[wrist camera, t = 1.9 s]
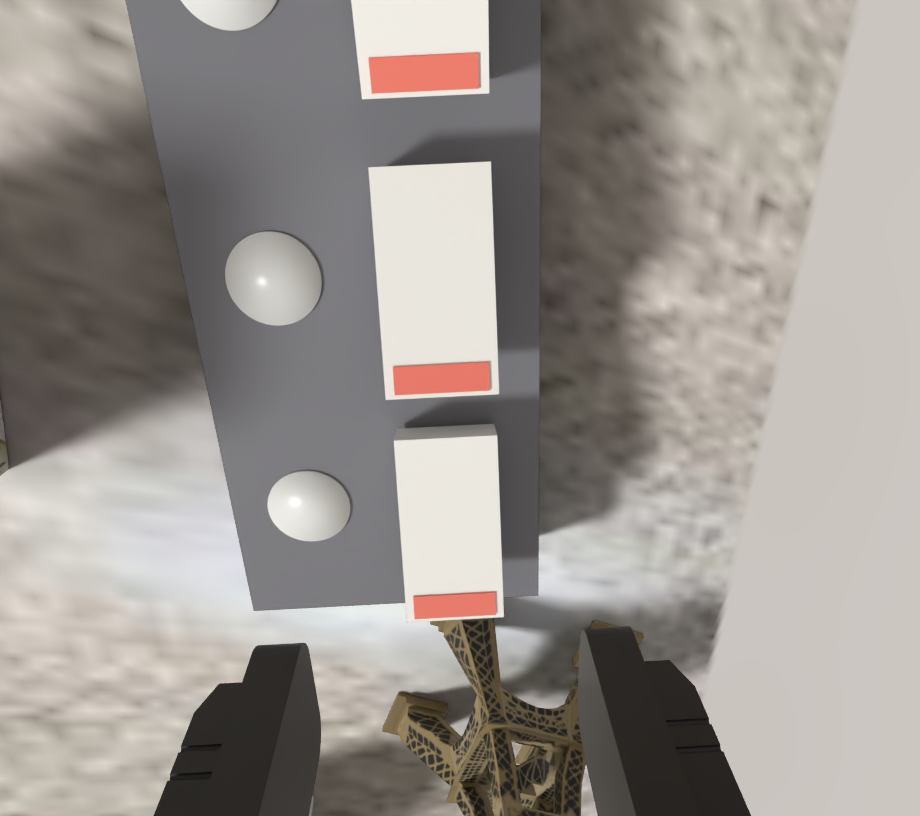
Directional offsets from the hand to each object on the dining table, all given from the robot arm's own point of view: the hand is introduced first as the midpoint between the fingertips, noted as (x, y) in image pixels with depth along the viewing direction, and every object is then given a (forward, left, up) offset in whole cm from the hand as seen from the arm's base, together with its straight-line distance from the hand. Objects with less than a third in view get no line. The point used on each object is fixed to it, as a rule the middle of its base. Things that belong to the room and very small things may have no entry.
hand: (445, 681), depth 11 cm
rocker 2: (-3, 0, -14) cm, 14 cm away
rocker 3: (+6, 0, -14) cm, 15 cm away
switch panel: (-7, -3, -19) cm, 21 cm away
